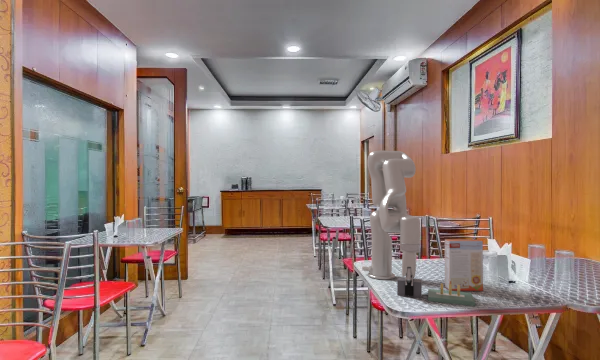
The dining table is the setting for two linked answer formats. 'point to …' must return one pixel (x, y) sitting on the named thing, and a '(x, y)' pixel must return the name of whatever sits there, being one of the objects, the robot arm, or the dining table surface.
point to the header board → (451, 296)
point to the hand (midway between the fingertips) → (409, 293)
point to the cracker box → (464, 264)
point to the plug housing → (416, 283)
